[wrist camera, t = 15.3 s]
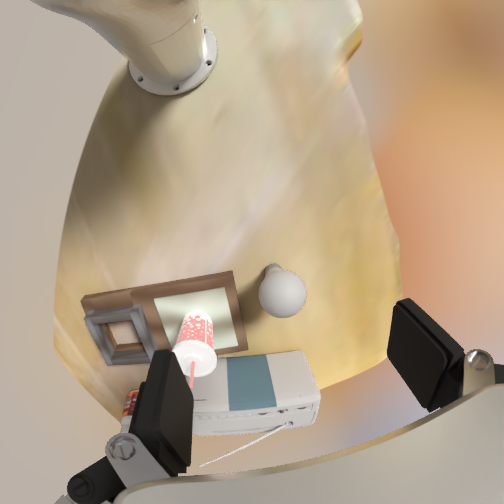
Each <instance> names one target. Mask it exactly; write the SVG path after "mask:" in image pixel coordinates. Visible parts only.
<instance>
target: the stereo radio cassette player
mask: <svg viewBox="0 0 504 504" xmlns="http://www.w3.org/2000/svg"><path fill="white" fill-rule="evenodd" d="M186 380H187V383H188V385H189V382H190V377H189V376H186ZM191 392H192V394H193V397H194V409H193V425H192V432H193V434H194V435H196V436H222V435H223V436H224V435H240V434H251V433H261V432H269V431H271V432H269V433H267V434H265V435H263V436H261V437H260V438H258V439H256V440H254V441H252V442H250V443H248V444H246V445H244V446H242V447H239V448H238V449H236V450H234V451H231V452H229V453H227V454H225V455H223V456H221V457H219V458H216V459H214V460H212V461H210V462H208V463H211V462H213V461H216V460H219V459H221V458H223V457H225V456H228V455H231V454H233V453H235V452H237V451H240V450H242V449H244V448H246V447H248V446H250V445H252V444H254V443H256V442H258V441H260V440H261V439H263V438H265V437H267V436H269V435H271V434H273V433H274V432H276V431H278V430H285V429H291V428H297V427H303V426H308V425H312V424H313V423H314V422H315V419H316V417H317V413H318V407H319V405H320V400H321V395H320V391H319V389H318V386H317V383H316V381H315V378H314V375H313V373H312V370H311V368H310V365H309V363H308V360H307V358H306V356H305V354H304V352H303V351H302V350H297V351H289V352H281V353H273V354H264V355H254V356H243V357H230V358H217V364H216V368H215V369H214V370H213V372H211V373H210V374H208V375H206V376H202V377H194V381H193V390H191ZM208 463H205V464H208ZM205 464H203V465H205ZM203 465H201V464H200V465H199V467H202V466H203Z"/></svg>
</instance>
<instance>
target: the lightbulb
mask: <svg viewBox="0 0 504 504" xmlns="http://www.w3.org/2000/svg"><path fill="white" fill-rule="evenodd" d="M306 297H307V291H306V286H305V284H304V282H303V280H302V279H301V278H300V277H299V276H298V275H297V274H295V273H293V272H291V271H287V270H283V269H282V268H281V267H280V266H279V265H277V264H270V265H269V266H267V268H266V270H265V279H264V280H263V281H262V283H261V285H260V288H259V301H260V304H261V306H262V307H263V309H264V310H265V311H266V312H267V313H269V314H270V315H272V316H274V317H278V318H287V317H291V316H293V315H295V314H296V313H298V312H299V311H300V310H301V309H302V307H303V306H304V304H305V302H306Z"/></svg>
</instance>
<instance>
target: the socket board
mask: <svg viewBox="0 0 504 504" xmlns="http://www.w3.org/2000/svg"><path fill="white" fill-rule="evenodd" d="M81 304H82V306H83V308H84V311H85V313H86V316H85V317H84V320H85V322H86V325H87V327H88V329H89V331H90V333H91V335H92V337H93V339H94V341H95V343H96V345H97V347H98V349H99V350H100V352H101V354H102V356H103V358H104V360H105V361H106V363H107V365H126V364H142V363H151V361H152V357H153V353H154V351H155V350H161V349H169V350H170V352H172V350H173V348H174V346H175V345H176V342H177V338H178V335H179V332H180V329H181V325H182V322H183V319H184V317H185V316H186V315H187V314H188V313H190V312H193V311H201V312H204V313H206V314H207V315H208V316H209V317H210V318H211V320H212V326H213V340H214V351H215V354H216V355H219V354H226V353H232V352H238V351H244V350H248V343H247V338H246V334H245V329H244V324H243V320H242V315H241V310H240V305H239V301H238V296H237V291H236V286H235V281H234V276H233V271H227V272H222V273H216V274H210V275H205V276H199V277H193V278H187V279H182V280H176V281H170V282H164V283H158V284H152V285H146V286H140V287H134V288H128V289H122V290H116V291H109V292H103V293H97V294H90V295H85V296H84V297H83V298H82V300H81ZM126 320H133V323H134V325H135V328H136V330H137V332H138V335H139V337H140V339H141V341H142V342H141V343H131V344H119V345H117V343H116V341H115V339H114V337H113V334H112V332H111V330H110V328H109V326H108V324H107V323H108V322H117V321H126Z"/></svg>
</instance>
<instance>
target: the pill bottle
mask: <svg viewBox="0 0 504 504" xmlns="http://www.w3.org/2000/svg"><path fill="white" fill-rule="evenodd" d="M138 391H139V390H133V391H131V392H130V393H129V394H128V396H127V400H126V403H125V407H124V410H123V414H122V418H121V426H122V428H121V433H128V431H129V427H130V422H131V418H132V414H133V410H134V407H135V403H136V399H137V395H138Z"/></svg>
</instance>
